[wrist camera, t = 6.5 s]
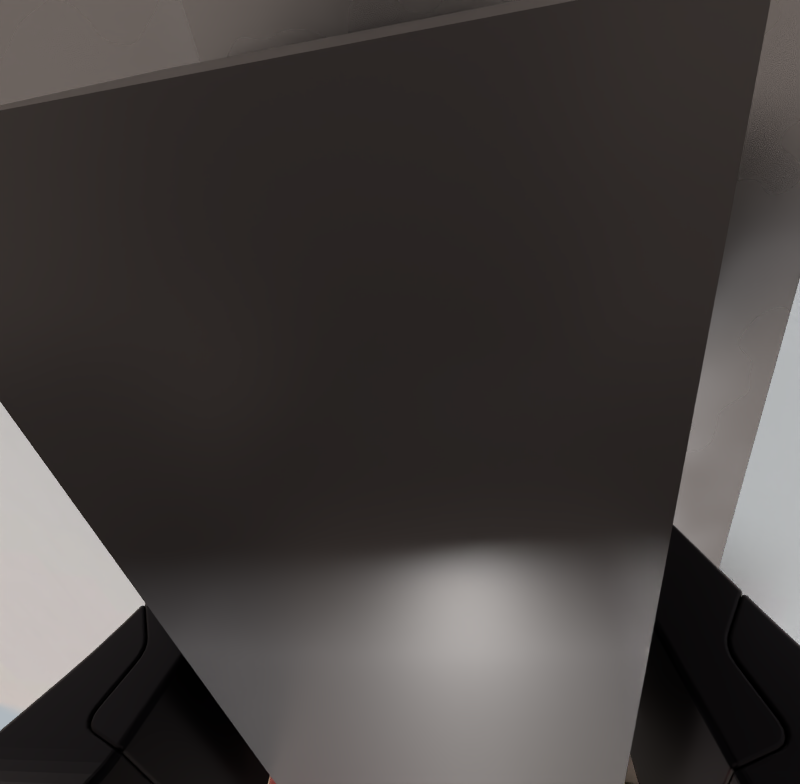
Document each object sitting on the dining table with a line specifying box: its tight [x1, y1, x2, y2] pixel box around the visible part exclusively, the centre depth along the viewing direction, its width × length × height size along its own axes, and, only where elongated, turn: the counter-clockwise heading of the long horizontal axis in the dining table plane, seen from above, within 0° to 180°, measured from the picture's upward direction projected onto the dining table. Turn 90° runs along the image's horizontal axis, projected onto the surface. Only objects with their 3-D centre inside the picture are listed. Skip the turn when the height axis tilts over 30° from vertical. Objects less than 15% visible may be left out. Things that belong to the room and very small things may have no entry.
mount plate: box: [0, 0, 800, 568], centre depth 11 cm, size 11×16×2 cm
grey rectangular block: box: [0, 0, 771, 784], centre depth 8 cm, size 13×4×6 cm, turn 9°
